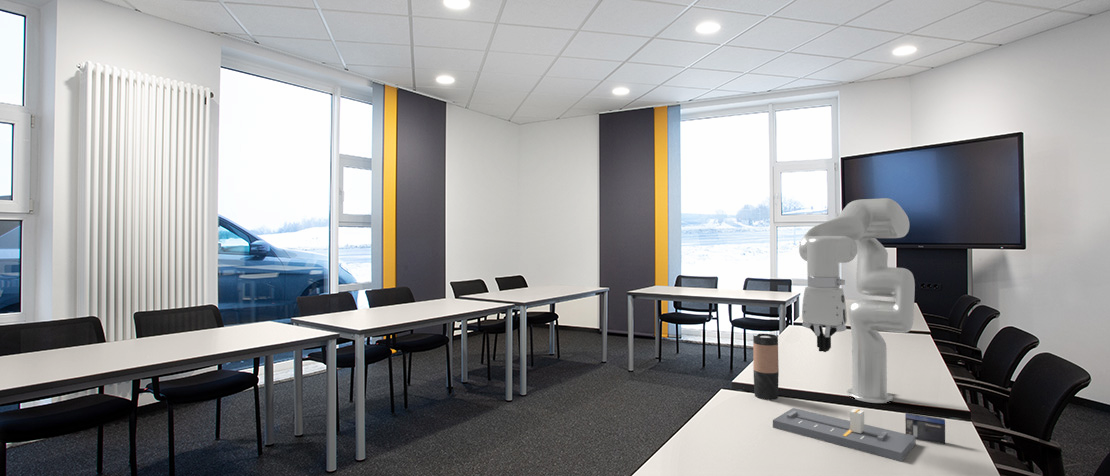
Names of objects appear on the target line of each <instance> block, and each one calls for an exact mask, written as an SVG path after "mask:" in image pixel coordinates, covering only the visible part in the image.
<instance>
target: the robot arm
mask: <svg viewBox="0 0 1110 476" xmlns="http://www.w3.org/2000/svg"><path fill="white" fill-rule="evenodd" d="M909 230H910V220H909V217H908V215H907V213H906V212H905V210H904V209H903V208H902V207H901V205H900V204H899V203H898V202H897V201H895V200H894V199H891V198H888V197H887V198H886V197H885V198H881V197H880V198H867V199H856V200H852V201H851V202H849V203H847V204H846V206H845V207H844V208H843V209H842V211H841V212H840V213H839V215H838V216H836V218H835V217H834V218H833V219H830V220H827V221H825V222H823V223H819V224H817V225H815V226H813V227H811V228H810V229H808V231H807V232H805V234H804V235H803V237H802V238H801V240H800V243H799V246H798V247H799V248H798V253H799V255H800V257H801V260H802V259H803V261H805V262H807V263H806V265H807V267H806V268H807V269H806V271H807V273H806V274H807V286H805V288H804V292H803V298H802V305H801V308H802V309H801V318H802V319H801V320H802V324H801V325H802V327H804V328H807V329H809V330H811V331H812V332H813V333H814V335H815V337H816V347H817V348H818V352H823V353H827V352H829V351H830V350H831V348H832V337H833V335H835V333H840V332H845V331H846V330H847V326H846V323H847V322H848V319H849V325H850V330H851V331H850V332H851V370H852V372H851V373H852V375H851V376H852V381H851V382H852V384H851V385H852V388H849V389H848V390H847V391H846V394H847V393H848V394H849V395H851V396H853V397H854V398H855V399H854V400H857V401H860V402H864V403H865V402H866V403H872V404H888V403H887V402H889V401H892V400H894V396H893V395H892V394H890V393H888V381H887V380H888V377H887V375H888V371H887V370H888V369H887V368H888V367H887V366H888V365H887V363H888V360H887V355H888V354H887V349H888V348H887V343H886V340H885V339H884V337H883V336H882V335H881V334H880V332H890V333H899V334H900V333H901V334H904V333H905V334H907V333H909V332H910V331H911V330H912V328H913V324H914V317H915V315H914V314H915V312H914V311H915V310H914V309H915V291H916V289H915V287H916V283H915V278H914V274H913V272H912V271H910V270H909V269H907V268H904V267H889V266H888V261H889V254H888V250H887V249H886V248H885V246H884V245H883V244H882V243H881V242H880V241H879V240H878V239H902V238H904V237H905V236H906V235H907V234H909ZM856 258H857V261H856V274H855V275H856V276H855V288H856V291H857V292H858V293H859V294H860V295H863V296H871V297H882V298H894V299H895V301H890V300H889V301H888V300H881V299H880V300H878V299H868V298H867V299H856V300H854V301H852V302H851V303H849V306H848V309H847V305H846V298H845V294H844V289H843V288H842V287H840V286H842V285H845V284H846V280H845V279H841V277H840V270H839V269H840V268H839V267H840V266H839V264H845V263H846V264H847V263H850V262H852V261H853V260H854V259H856ZM847 310H848V311H847ZM847 313H848V315H847ZM823 326H825V328H823ZM892 402H893V401H892ZM889 403H890V402H889Z"/></svg>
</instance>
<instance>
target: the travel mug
mask: <svg viewBox="0 0 1110 476" xmlns="http://www.w3.org/2000/svg"><path fill="white" fill-rule="evenodd" d="M752 336H753V343H752V344H753V347H752V348H753V355H752V357H753V361H752V362H753V363H752V364H753V368H752V369H753V386H754V387H753V389H754V392H753V393H754V397H755V398H757V399H761V400H766V401H768V400H769V401H774V400H777V399H778V398H779V372H780V371H779V337H778V335H775V334H772V333H771V334H770V333H758V334H757V335H754V334H753V335H752Z"/></svg>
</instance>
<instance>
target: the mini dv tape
mask: <svg viewBox="0 0 1110 476" xmlns="http://www.w3.org/2000/svg"><path fill="white" fill-rule="evenodd" d="M904 420H905V434H909V435H913V436H916V440H918V441H919V440H920V441H924V442H930V443H936V444H940V445H946V419H945V418H941V417H934V416H929V415H923V414H917V413H909V412H905V419H904Z"/></svg>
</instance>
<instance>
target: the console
mask: <svg viewBox="0 0 1110 476" xmlns="http://www.w3.org/2000/svg"><path fill="white" fill-rule="evenodd" d="M772 428H774V429H777V430H782V431H786V432H788V433H793V434H796V435H801V436H805V437H807V438H811V439H816V440H819V441H822V442H827V443H830V444H835V445H839V446H841V447H845V448H849V449H853V450H856V451H857V450H858V451H860V452H865V453H868V454H871V455H872V454H873V455H876V456H880V457H883V458H886V459H887V458H888V459H890V460H894V461H899V462H902V461H903V460H904V459H905V458H906V456H908V454H909V453H910V452H911V451H912V449H913V448H914V447H915V446H916V444H917V441H916V440H917V439H916V436H913V435H909V434H906V433H904V432H900V431H894V430H890V429H886V428H882V427H877V426H875V425H874V426H873V425H869V424H865V423H864V431H863V432H862V433H857V432H853V431H850V420H847V419H842V418H839V417H835V416H829V415H825V414H822V413H816V412H813V411H809V410H805V409H799V408H796V407H793V408H790V409H788V411H786V412H784V413H782V414H781V415H779V416H777V417H776V418H773V419H772Z"/></svg>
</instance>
